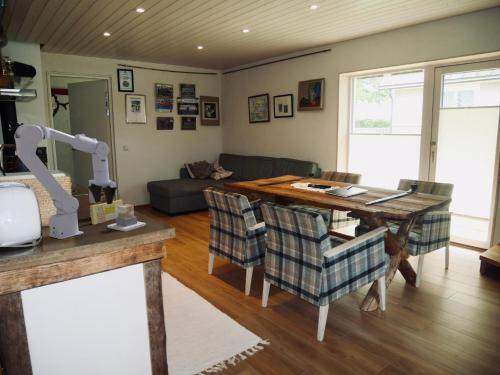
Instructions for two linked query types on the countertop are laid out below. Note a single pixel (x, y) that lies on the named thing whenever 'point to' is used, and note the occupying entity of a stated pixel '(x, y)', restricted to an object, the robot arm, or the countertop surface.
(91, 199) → the coffee box
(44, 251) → the countertop surface
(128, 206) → the birch block
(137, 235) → the countertop surface
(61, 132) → the robot arm
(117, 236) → the countertop surface
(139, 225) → the white grey square pedestal
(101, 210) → the candy box
